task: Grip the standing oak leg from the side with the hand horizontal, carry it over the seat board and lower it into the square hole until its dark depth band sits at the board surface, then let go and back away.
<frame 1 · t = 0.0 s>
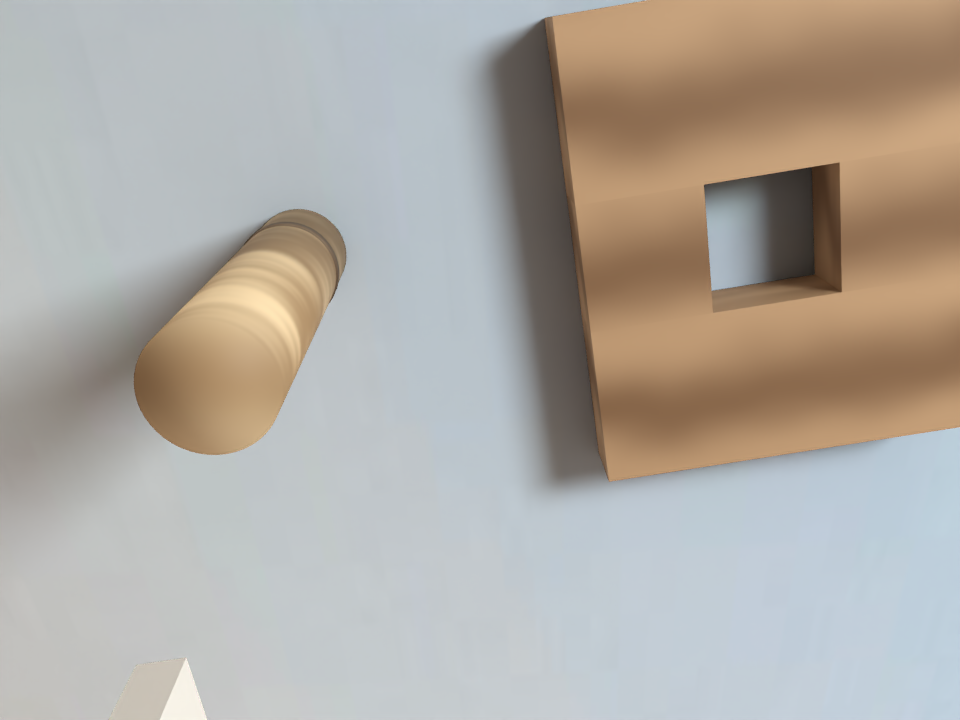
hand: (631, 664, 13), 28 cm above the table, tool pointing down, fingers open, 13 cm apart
seat board: (751, 225, 39), on the table
oak leg: (301, 254, 39), on the table
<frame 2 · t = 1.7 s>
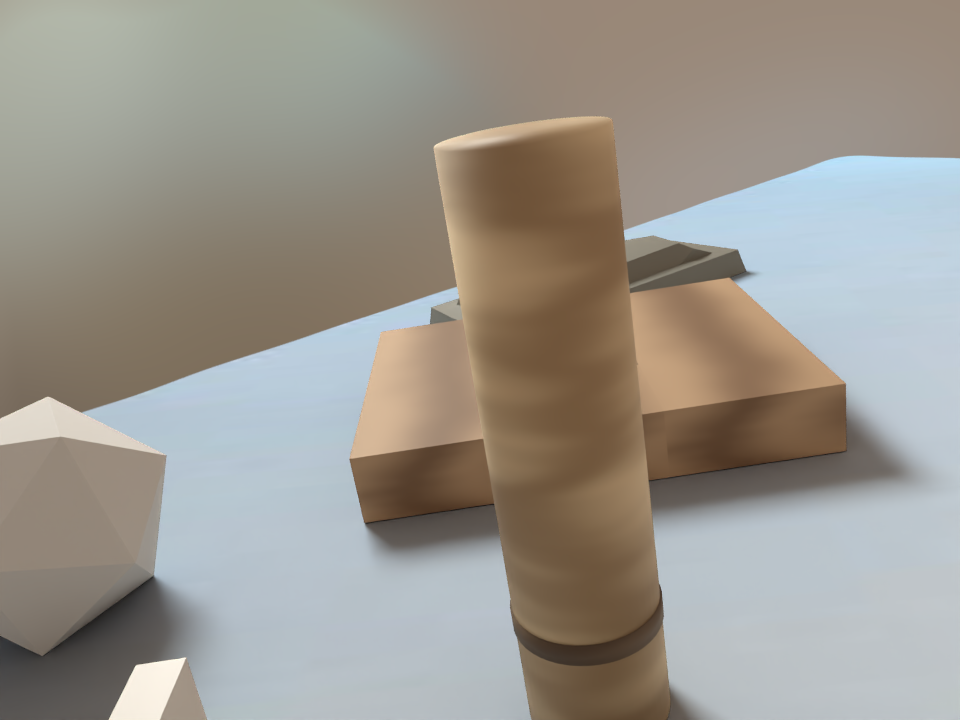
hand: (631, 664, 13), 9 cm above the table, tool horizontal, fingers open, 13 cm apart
seat board: (578, 409, 44), on the table
die: (79, 610, 34), on the table
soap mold: (589, 310, 61), on the table
oak leg: (599, 701, 25), on the table
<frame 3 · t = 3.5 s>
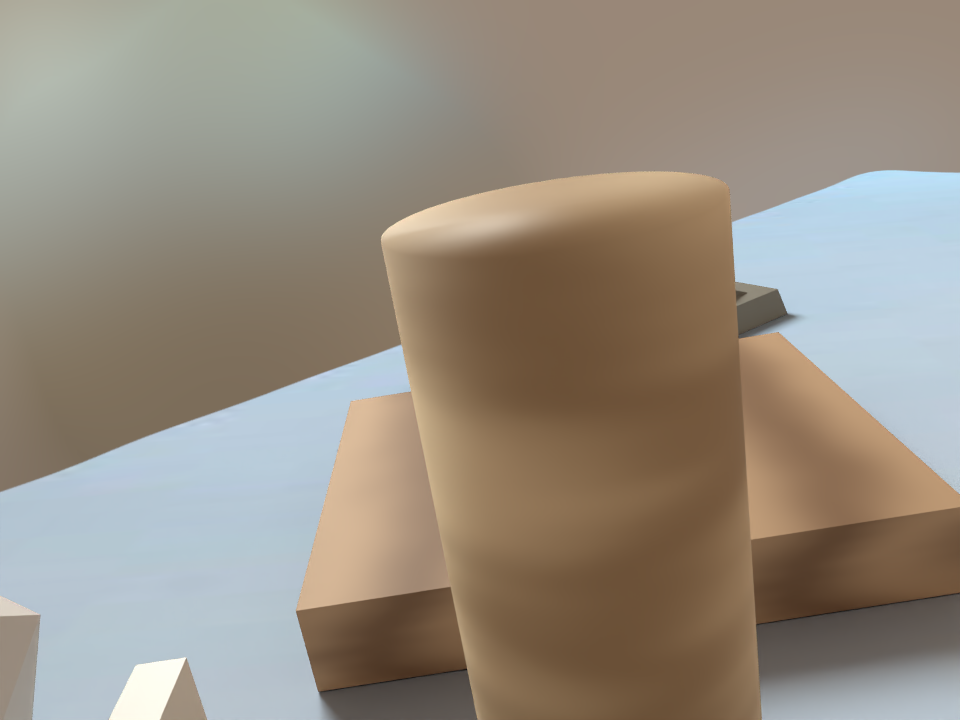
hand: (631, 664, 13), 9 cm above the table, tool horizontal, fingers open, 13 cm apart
seat board: (598, 510, 35), on the table
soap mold: (603, 361, 51), on the table
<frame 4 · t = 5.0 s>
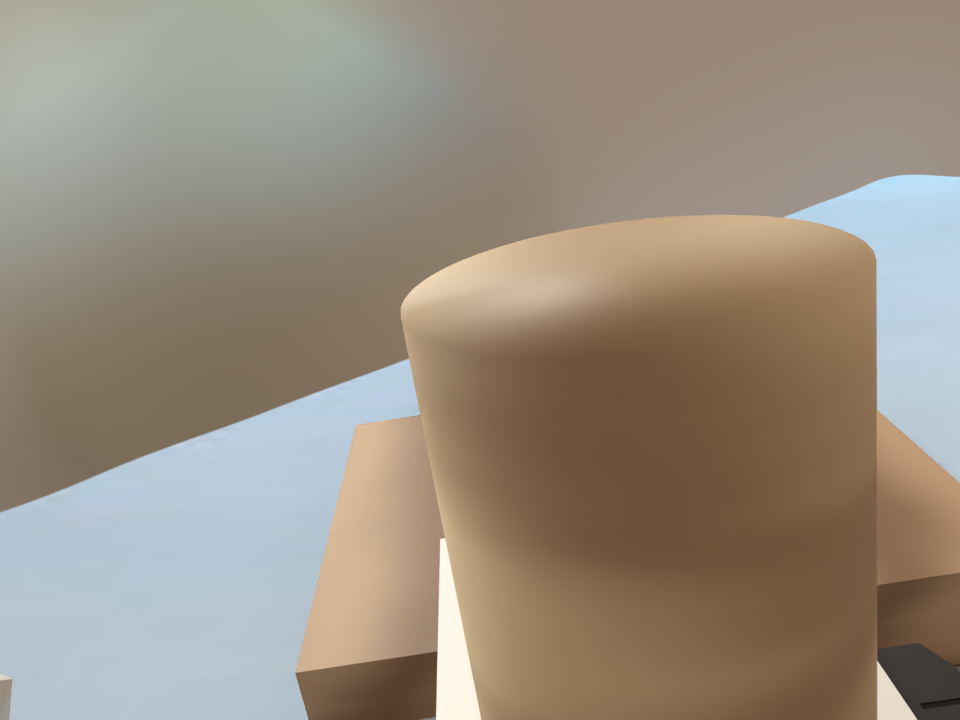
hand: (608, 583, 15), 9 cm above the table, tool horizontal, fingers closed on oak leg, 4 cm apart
seat board: (623, 548, 32), on the table
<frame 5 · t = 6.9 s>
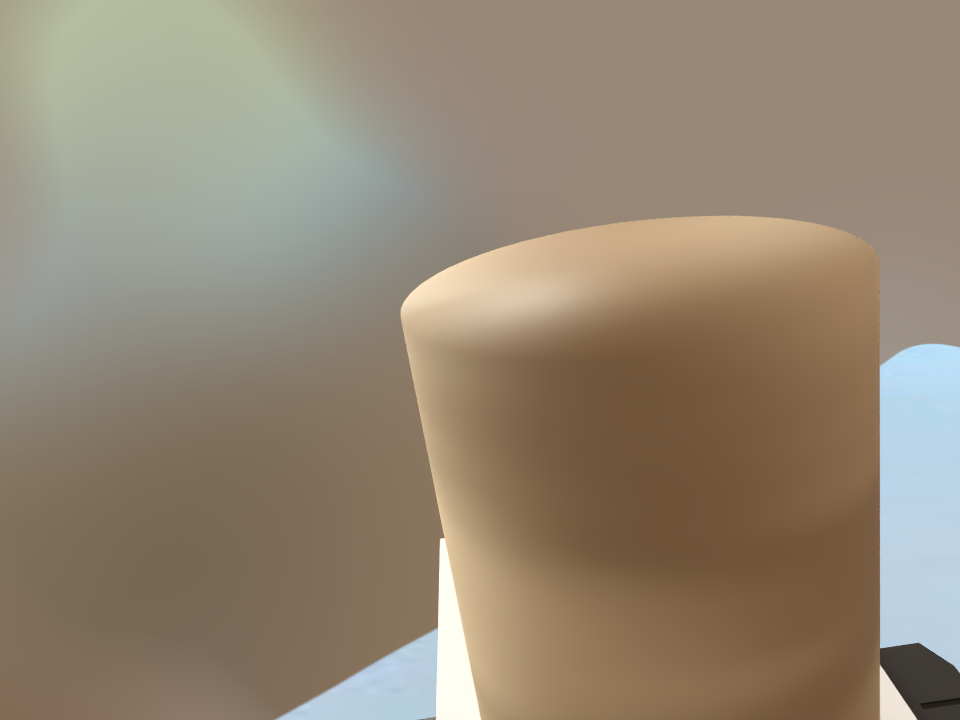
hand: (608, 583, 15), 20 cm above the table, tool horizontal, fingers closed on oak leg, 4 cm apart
when the fingers open (10 cm above the table, at t = 9.1 s): oak leg stays where it is, resting in seat board.
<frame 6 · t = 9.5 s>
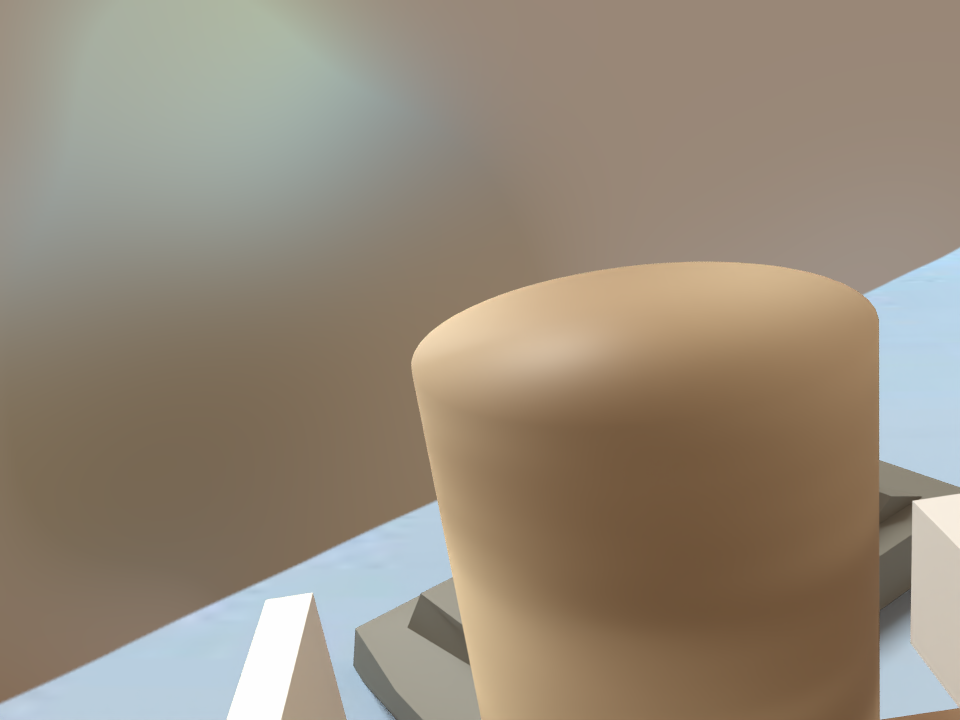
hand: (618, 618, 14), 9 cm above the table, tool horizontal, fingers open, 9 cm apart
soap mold: (677, 614, 30), on the table
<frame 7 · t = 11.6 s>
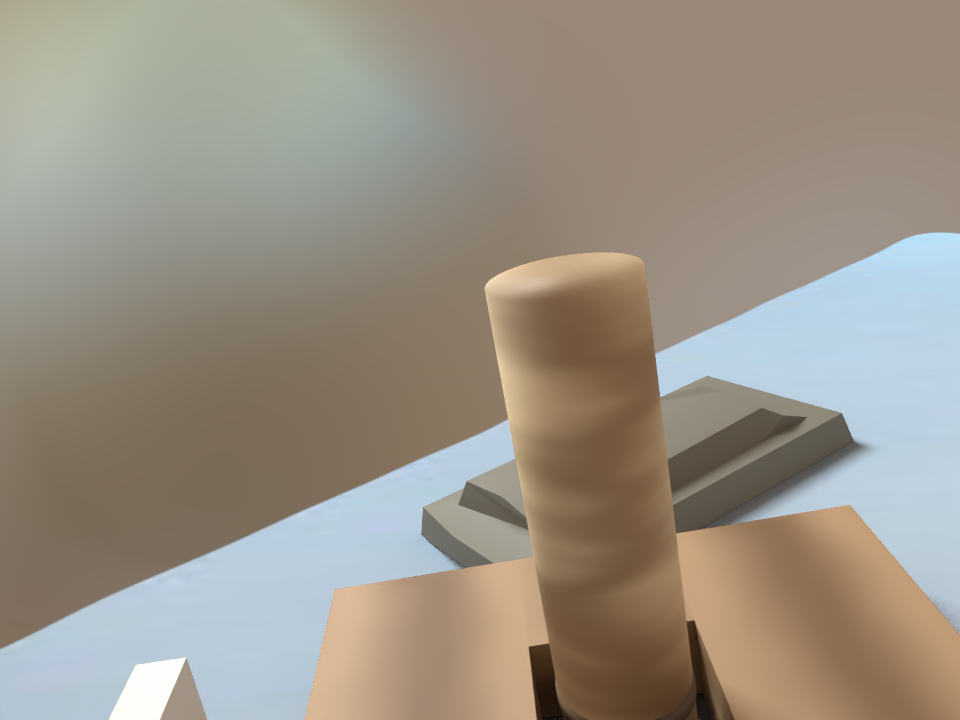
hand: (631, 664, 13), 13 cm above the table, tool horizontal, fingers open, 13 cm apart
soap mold: (640, 500, 44), on the table
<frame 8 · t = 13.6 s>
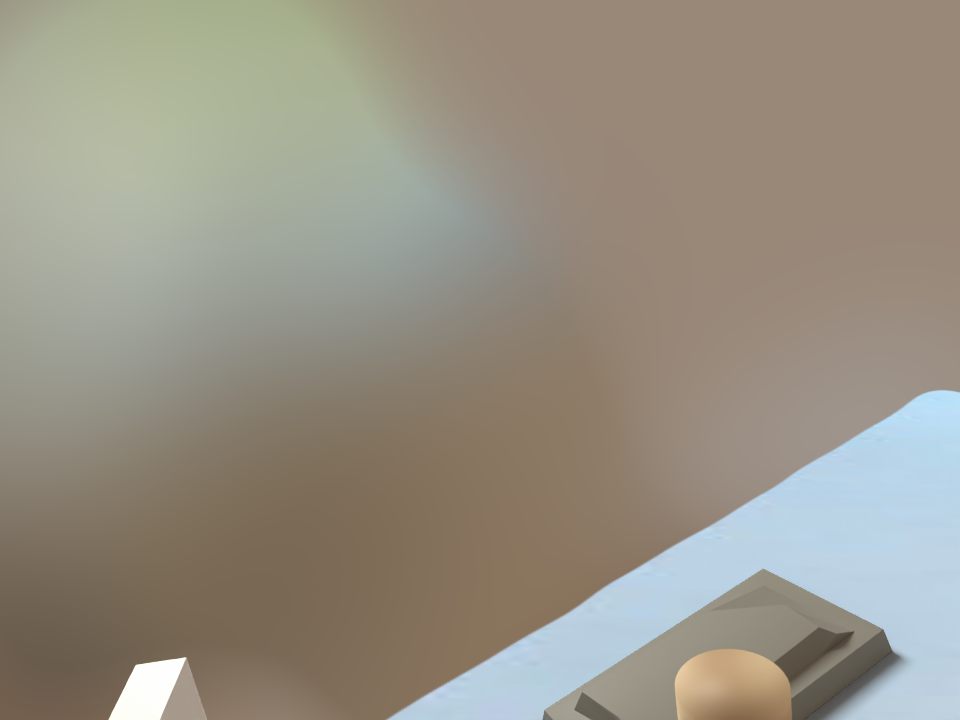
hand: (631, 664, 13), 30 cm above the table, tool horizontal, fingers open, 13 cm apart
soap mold: (718, 699, 54), on the table
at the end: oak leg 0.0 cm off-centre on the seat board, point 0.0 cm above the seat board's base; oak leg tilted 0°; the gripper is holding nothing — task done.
